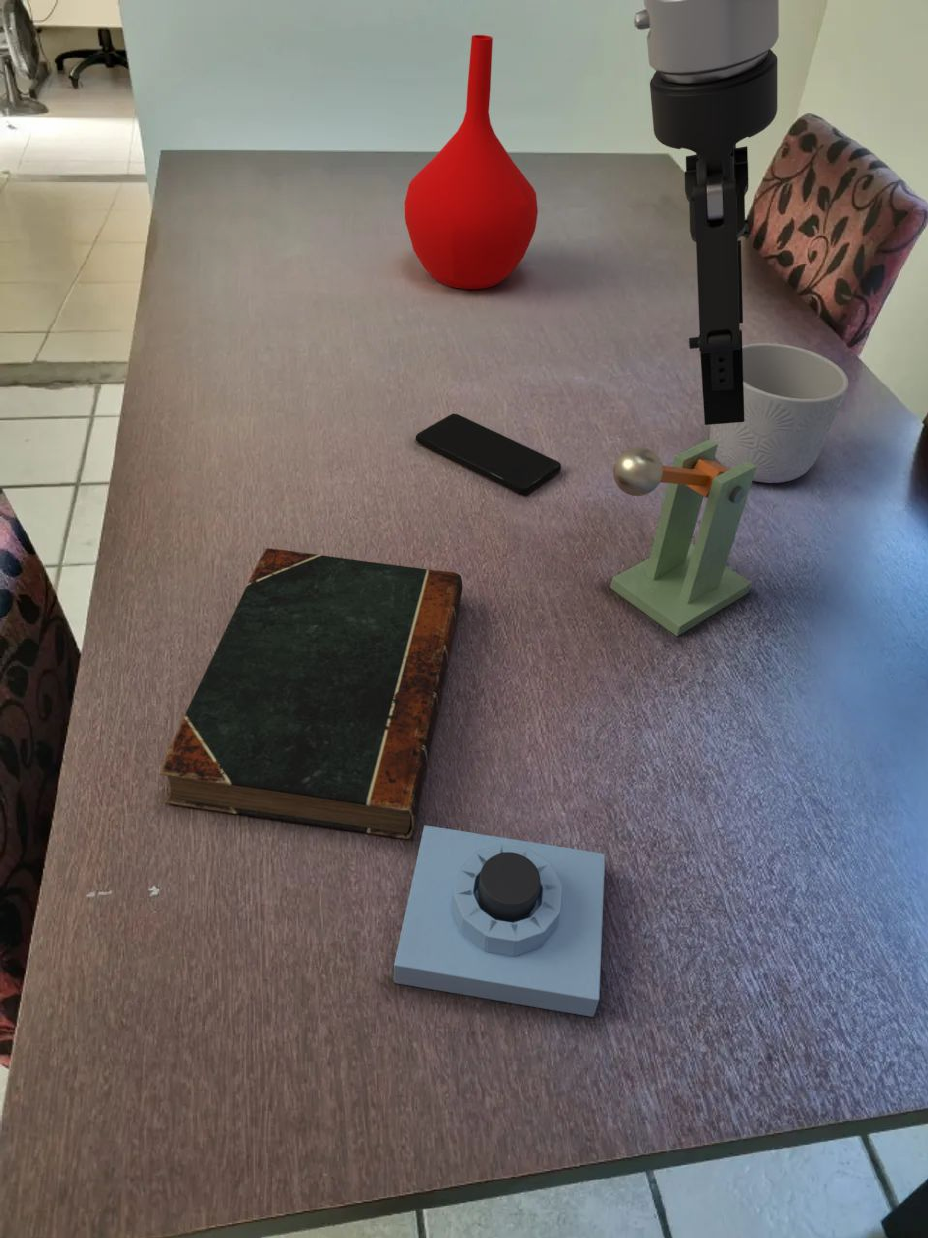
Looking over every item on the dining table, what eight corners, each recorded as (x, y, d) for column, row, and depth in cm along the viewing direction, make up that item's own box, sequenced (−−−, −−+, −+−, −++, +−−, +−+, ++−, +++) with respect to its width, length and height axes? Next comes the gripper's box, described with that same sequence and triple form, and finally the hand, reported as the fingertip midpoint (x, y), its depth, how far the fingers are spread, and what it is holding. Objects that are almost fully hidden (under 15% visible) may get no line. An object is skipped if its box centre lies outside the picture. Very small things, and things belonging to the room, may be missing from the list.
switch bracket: (676, 636, 80) (715, 504, 71) (609, 587, 85) (637, 456, 76) (748, 592, 85) (793, 463, 76) (681, 548, 90) (716, 421, 81)
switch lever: (631, 503, 67) (654, 458, 66) (596, 480, 69) (617, 436, 68) (725, 509, 78) (746, 470, 76) (692, 489, 80) (712, 450, 78)
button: (539, 873, 58) (543, 856, 57) (534, 925, 55) (537, 909, 54) (482, 863, 58) (484, 847, 57) (474, 915, 56) (476, 899, 55)
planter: (826, 499, 98) (862, 405, 90) (707, 489, 98) (734, 394, 90) (802, 437, 107) (833, 347, 99) (693, 427, 107) (716, 337, 100)
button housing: (600, 872, 63) (610, 837, 60) (593, 1018, 55) (604, 985, 52) (423, 843, 63) (425, 807, 61) (393, 983, 56) (393, 949, 53)
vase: (418, 306, 127) (425, 53, 107) (392, 253, 140) (394, 19, 120) (546, 299, 131) (577, 55, 111) (510, 249, 144) (531, 22, 124)
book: (267, 577, 83) (163, 804, 64) (264, 545, 81) (155, 771, 62) (462, 603, 82) (413, 841, 63) (464, 571, 80) (414, 809, 61)
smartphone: (524, 491, 94) (412, 435, 100) (524, 497, 94) (412, 441, 101) (564, 463, 98) (454, 411, 105) (563, 470, 98) (453, 417, 105)
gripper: (659, 13, 66) (680, 293, 81) (634, 150, 49) (666, 473, 64) (771, -11, 64) (772, 282, 78) (785, 125, 47) (783, 465, 62)
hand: (725, 368), depth 71 cm, fingers open, 13 cm apart
